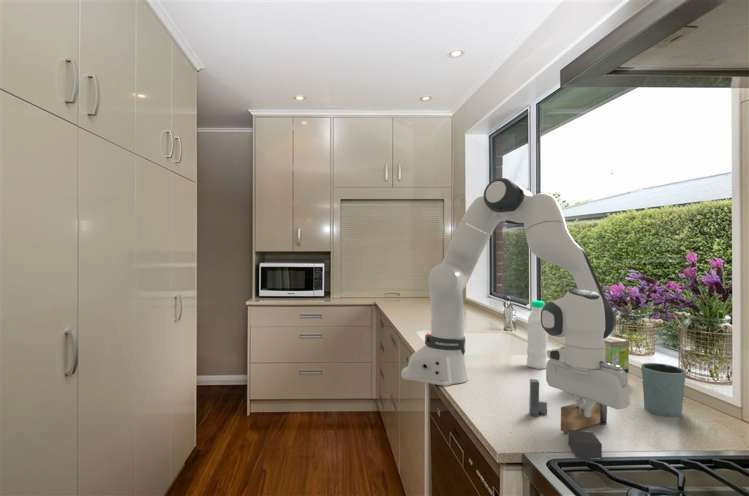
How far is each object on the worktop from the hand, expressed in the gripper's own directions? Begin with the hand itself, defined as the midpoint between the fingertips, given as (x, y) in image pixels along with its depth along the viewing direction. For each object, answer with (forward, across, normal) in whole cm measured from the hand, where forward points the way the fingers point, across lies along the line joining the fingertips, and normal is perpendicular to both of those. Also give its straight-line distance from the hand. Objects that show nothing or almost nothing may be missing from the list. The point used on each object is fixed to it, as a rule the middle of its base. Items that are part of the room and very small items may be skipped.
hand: (584, 415), depth 98 cm
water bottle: (+3, +47, -34) cm, 58 cm away
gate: (+4, +2, -1) cm, 4 cm away
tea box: (+4, +28, -43) cm, 52 cm away
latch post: (+4, +13, +2) cm, 13 cm away
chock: (+5, -6, +8) cm, 12 cm away
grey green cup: (+4, +2, -33) cm, 34 cm away
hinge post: (+4, +3, -10) cm, 11 cm away
